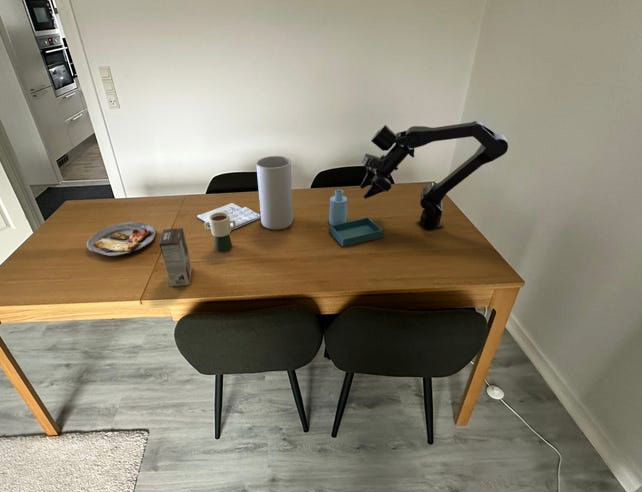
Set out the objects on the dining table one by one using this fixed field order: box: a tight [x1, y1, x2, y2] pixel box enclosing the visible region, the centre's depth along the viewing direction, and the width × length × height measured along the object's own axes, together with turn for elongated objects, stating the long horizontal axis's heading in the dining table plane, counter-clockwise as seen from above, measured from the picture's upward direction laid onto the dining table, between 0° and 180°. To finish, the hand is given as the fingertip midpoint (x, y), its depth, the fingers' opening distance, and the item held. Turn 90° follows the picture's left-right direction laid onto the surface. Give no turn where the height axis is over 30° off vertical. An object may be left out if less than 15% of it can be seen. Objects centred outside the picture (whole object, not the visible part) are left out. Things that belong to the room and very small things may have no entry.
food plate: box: [86, 221, 158, 257], centre depth 144 cm, size 25×23×4 cm
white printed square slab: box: [197, 202, 261, 231], centre depth 155 cm, size 19×20×2 cm
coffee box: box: [158, 227, 193, 287], centre depth 119 cm, size 9×6×16 cm
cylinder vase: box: [255, 155, 294, 231], centre depth 143 cm, size 12×12×25 cm
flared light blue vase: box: [328, 189, 348, 225], centre depth 144 cm, size 6×6×13 cm
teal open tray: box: [328, 216, 384, 248], centre depth 138 cm, size 16×11×3 cm
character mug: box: [204, 212, 237, 252], centre depth 133 cm, size 11×7×13 cm, turn 90°
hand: (362, 192), depth 140 cm, fingers open, 9 cm apart
